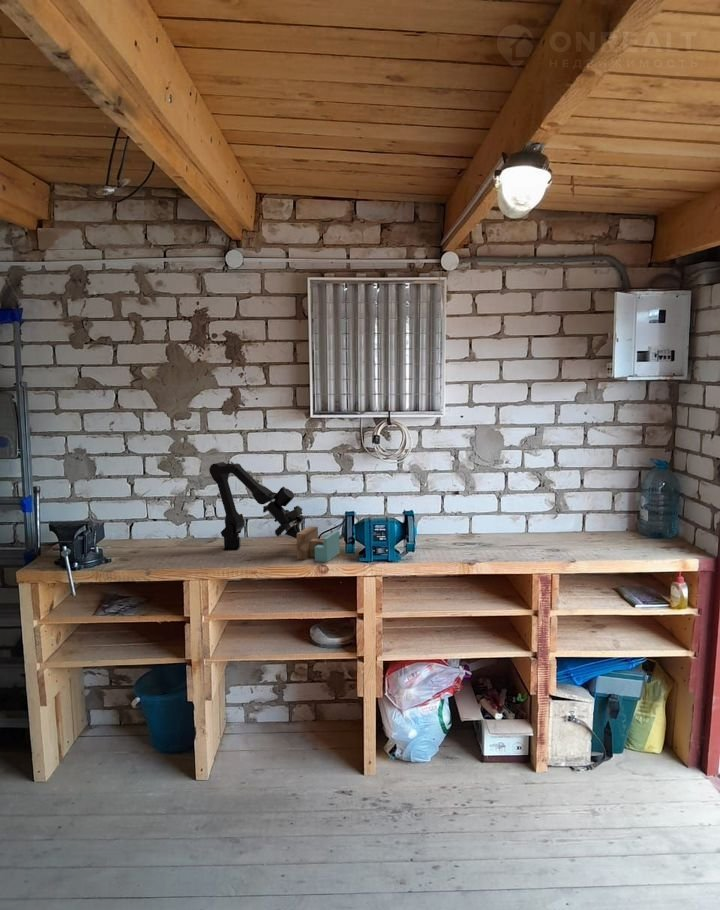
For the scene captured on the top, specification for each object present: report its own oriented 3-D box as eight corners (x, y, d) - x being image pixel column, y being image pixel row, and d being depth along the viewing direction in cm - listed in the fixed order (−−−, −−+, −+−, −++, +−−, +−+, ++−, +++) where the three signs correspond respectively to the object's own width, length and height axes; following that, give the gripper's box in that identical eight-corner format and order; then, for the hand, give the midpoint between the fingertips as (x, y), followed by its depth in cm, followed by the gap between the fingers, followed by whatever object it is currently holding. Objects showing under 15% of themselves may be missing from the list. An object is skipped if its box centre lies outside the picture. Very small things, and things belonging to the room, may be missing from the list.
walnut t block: (297, 559, 268) (296, 533, 266) (310, 550, 280) (309, 526, 278) (323, 561, 264) (322, 535, 262) (335, 552, 276) (334, 528, 274)
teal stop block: (314, 561, 264) (314, 537, 263) (328, 551, 277) (327, 529, 276) (327, 562, 262) (326, 538, 261) (339, 552, 276) (339, 530, 274)
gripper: (280, 505, 264) (305, 533, 262) (299, 496, 281) (323, 522, 279) (264, 522, 268) (288, 550, 265) (284, 513, 285) (307, 538, 283)
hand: (302, 539), depth 273 cm, fingers closed, pressing on walnut t block
